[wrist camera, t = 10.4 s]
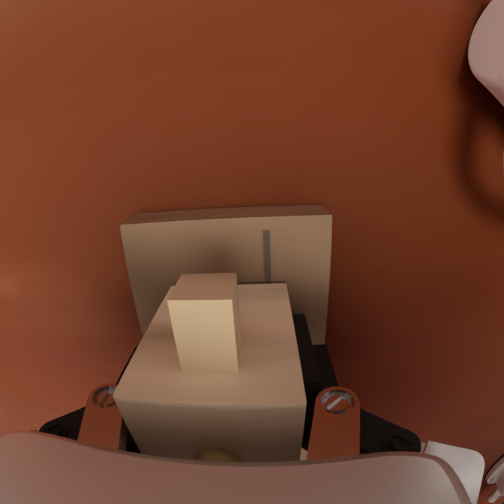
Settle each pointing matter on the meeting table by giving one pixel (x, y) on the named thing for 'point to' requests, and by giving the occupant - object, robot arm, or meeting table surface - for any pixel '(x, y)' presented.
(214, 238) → the board
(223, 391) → the beige block with peg
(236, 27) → the meeting table surface
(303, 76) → the meeting table surface
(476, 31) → the mug
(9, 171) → the meeting table surface
